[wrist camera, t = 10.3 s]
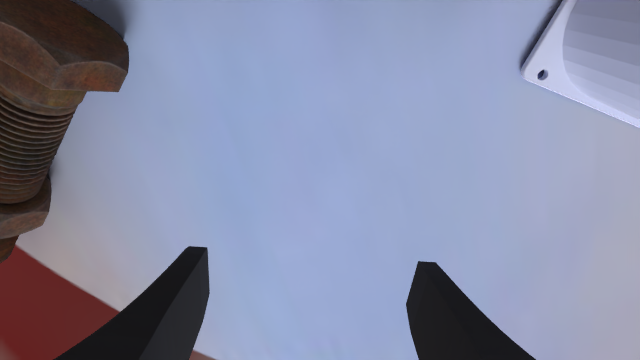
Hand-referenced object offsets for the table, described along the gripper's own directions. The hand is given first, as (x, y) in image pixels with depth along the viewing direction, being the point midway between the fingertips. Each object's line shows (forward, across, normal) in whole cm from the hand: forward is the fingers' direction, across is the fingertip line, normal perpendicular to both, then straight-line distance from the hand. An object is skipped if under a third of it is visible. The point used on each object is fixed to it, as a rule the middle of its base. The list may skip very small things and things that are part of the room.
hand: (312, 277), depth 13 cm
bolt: (+10, +15, 0) cm, 18 cm away
